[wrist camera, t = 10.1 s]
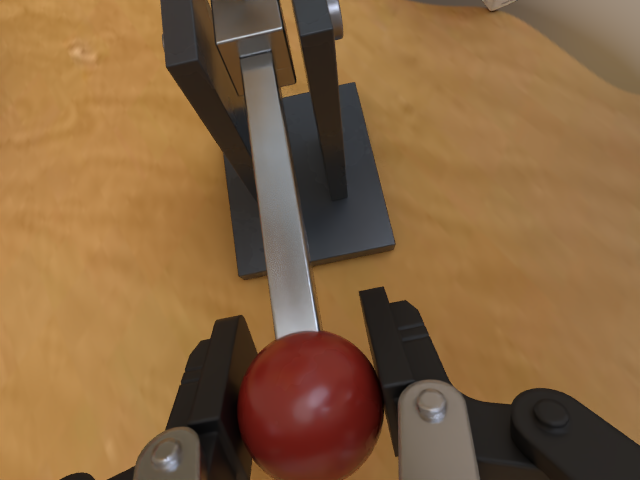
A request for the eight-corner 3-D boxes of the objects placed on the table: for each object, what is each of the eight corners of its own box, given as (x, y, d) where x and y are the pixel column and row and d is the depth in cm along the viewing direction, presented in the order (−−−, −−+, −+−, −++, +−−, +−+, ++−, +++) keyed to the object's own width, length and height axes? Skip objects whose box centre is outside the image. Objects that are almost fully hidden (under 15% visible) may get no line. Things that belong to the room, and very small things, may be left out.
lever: (395, 461, 10) (406, 488, 7) (266, 484, 11) (222, 521, 7) (303, 35, 16) (287, -52, 13) (220, 54, 16) (184, -28, 13)
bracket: (394, 249, 24) (433, 110, 11) (244, 280, 24) (101, 182, 11) (355, 93, 27) (348, -163, 14) (223, 122, 27) (94, -100, 14)
